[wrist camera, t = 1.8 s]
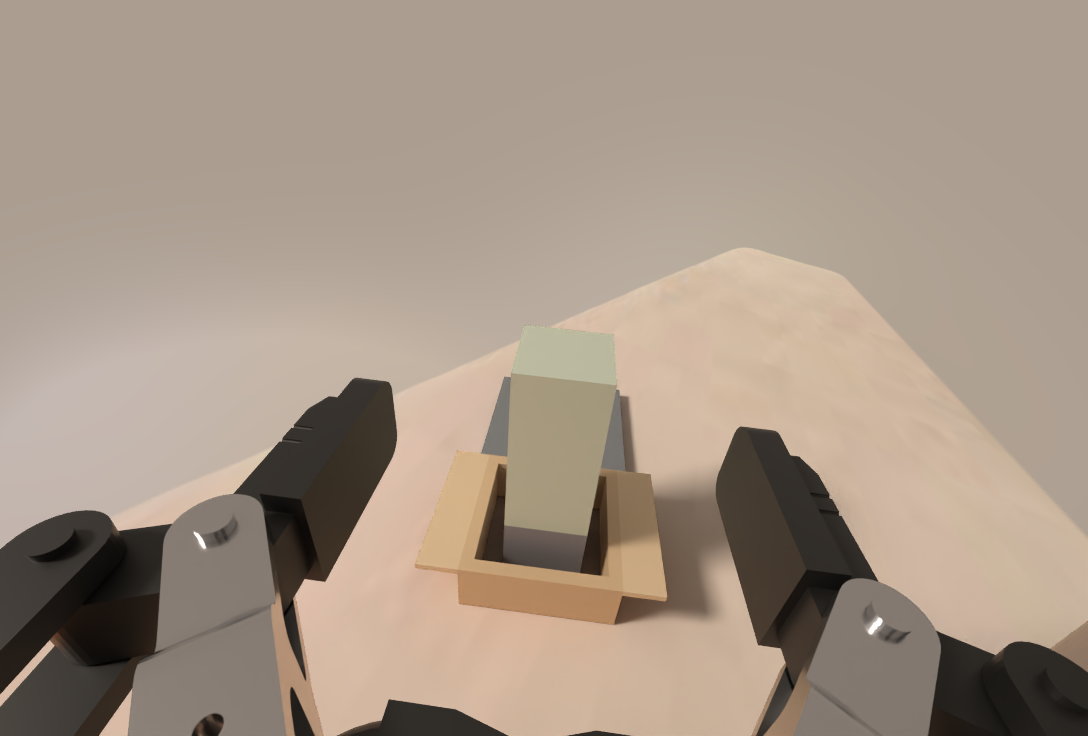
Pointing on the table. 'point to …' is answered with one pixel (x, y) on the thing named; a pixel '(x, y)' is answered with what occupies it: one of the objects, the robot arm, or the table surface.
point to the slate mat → (500, 425)
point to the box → (556, 444)
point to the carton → (623, 568)
